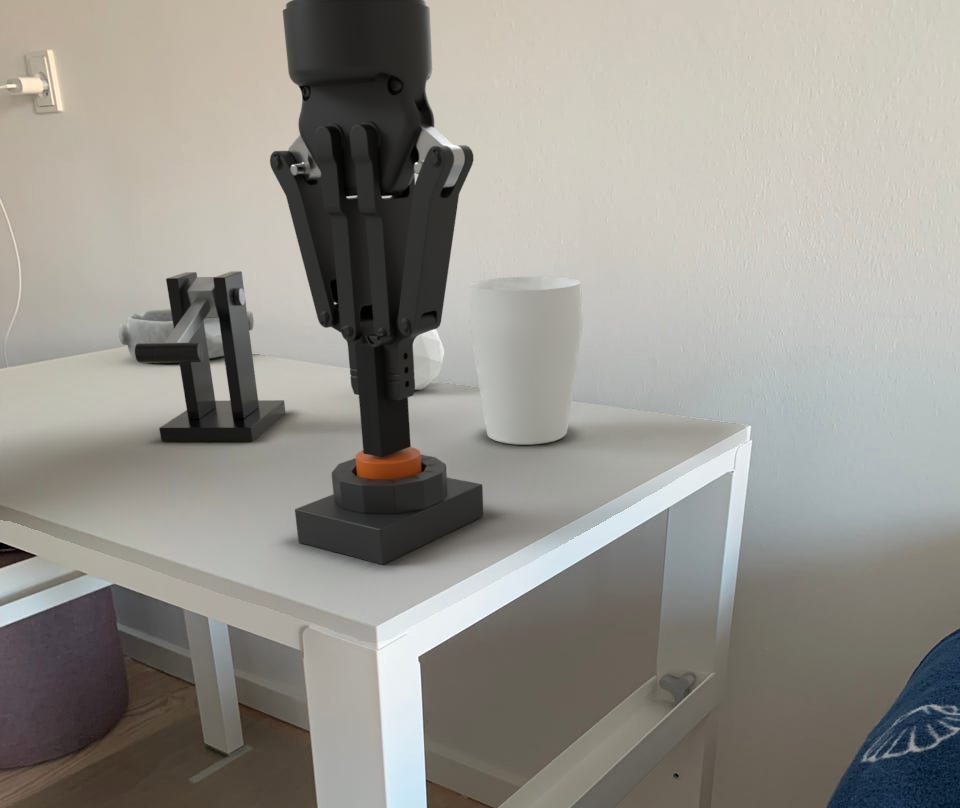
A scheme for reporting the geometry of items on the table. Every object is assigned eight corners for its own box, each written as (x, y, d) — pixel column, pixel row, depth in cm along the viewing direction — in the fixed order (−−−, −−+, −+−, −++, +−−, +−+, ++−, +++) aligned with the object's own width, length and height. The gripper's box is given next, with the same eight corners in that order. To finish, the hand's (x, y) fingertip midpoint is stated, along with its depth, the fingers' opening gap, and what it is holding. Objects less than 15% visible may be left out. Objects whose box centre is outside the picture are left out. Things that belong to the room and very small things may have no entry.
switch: (202, 371, 77) (194, 341, 75) (139, 371, 78) (130, 342, 76) (244, 303, 86) (237, 275, 84) (188, 304, 86) (180, 277, 85)
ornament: (415, 376, 106) (455, 315, 101) (423, 416, 101) (465, 354, 96) (356, 348, 102) (394, 283, 98) (361, 388, 97) (402, 322, 93)
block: (383, 565, 58) (378, 499, 57) (298, 542, 62) (290, 480, 60) (483, 516, 65) (482, 456, 64) (402, 498, 69) (398, 442, 67)
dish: (265, 344, 127) (260, 303, 124) (215, 366, 115) (209, 321, 112) (162, 343, 130) (155, 303, 128) (102, 364, 118) (94, 320, 115)
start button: (393, 495, 60) (391, 466, 59) (344, 484, 62) (341, 457, 61) (435, 478, 63) (433, 450, 62) (386, 468, 65) (384, 442, 64)
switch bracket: (252, 441, 84) (231, 281, 79) (161, 441, 85) (133, 283, 79) (285, 413, 93) (268, 267, 87) (202, 413, 94) (180, 268, 88)
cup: (456, 445, 81) (450, 290, 76) (493, 418, 89) (490, 275, 83) (564, 453, 78) (565, 292, 73) (593, 424, 86) (596, 276, 80)
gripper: (502, -10, 50) (509, 450, 61) (315, 14, 57) (350, 423, 68) (406, -26, 45) (431, 482, 55) (213, 3, 52) (268, 449, 62)
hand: (387, 449), depth 62 cm, fingers closed
